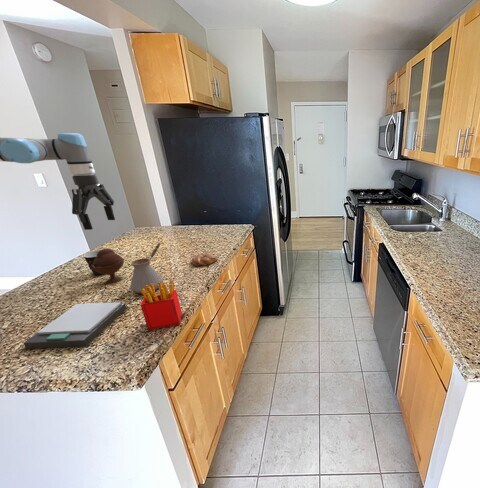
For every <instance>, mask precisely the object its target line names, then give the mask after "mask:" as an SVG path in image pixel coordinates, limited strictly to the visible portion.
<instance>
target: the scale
mask: <svg viewBox="0 0 480 488" xmlns="http://www.w3.org/2000/svg"><path fill="white" fill-rule="evenodd" d="M126 310H127V305H126V303H124V302H122V303H121V301H118V302H114V301H113V302H91V303H76V304H74V305H73V306H72V307H71V308H69V309H67V310H66V311H65V312H64V313H62V314H61V315H59V316H58V317H56V318H55V319H53V321H51V322H49V323H48V324H47V325H46V326H44V327H43V328H41V329H40V330H39V331H37V332H36V333H34V335H32V336H31V337H30V338H28V339H26V340H25V341H23V342H22V344H23V346H24V347H25V349H26V350H33V349H36V350H37V349H38V350H39V349H55V348H57V349H58V348H77V347H88V345H90V344H91V343H92V342H93V341H94V340H95V339H96V338H97V337H98V336H100V334H102V332H103V331H104V330H105V329H107V328H108V327H109V326H110V325H111V324H112V323H113V322H114V321H115V320H116V319H117V318H118V317H120V316H121V314H123V313H124V312H125V311H126Z"/></svg>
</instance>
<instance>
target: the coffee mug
mask: <svg viewBox="0 0 480 488" xmlns="http://www.w3.org/2000/svg"><path fill="white" fill-rule="evenodd" d="M100 250H101V249H97V250H92V251H88V252H86V253H85V254H84V255H83V258H84V259H85V262H86V264H87V266H88V268H89V270H91V272H92V274H93V275H94V277H95V276H96V277H100V276H105V275H106V274H101V273H98V272H96V271H95V270H94V269H93V268H92V266H91V265H92V264H93V262H94V260H95V259H96V258H97V253H98V252H99V251H100Z"/></svg>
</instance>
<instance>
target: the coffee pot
mask: <svg viewBox="0 0 480 488" xmlns="http://www.w3.org/2000/svg"><path fill="white" fill-rule="evenodd" d="M161 246H164V244H163V243H160V242H158V243H157V244H156V245H155V248H154V249H153V251H152V252H151V254H150V257H149V258H148V257H147V258H146V257H145V258H144V257H143V258H138V259H135V260H133V261H131V263H130V265H131V266H133V271H132V272H133V273H132V277H131V282H130V285H129V288H130V291H132V292H133V293H137V294H141V295H143V293H142V292H141V289H145V291H146V288H145V286H146V285H148V286H149V287H151V286H150V284H154V288H155V291H157V290H159V288H158V282H161V284H164V278H163V277H162V276H161V274H160V273H158V272H157V271H156V269H154V267H153V266H152V265H151V261H152V259H153V258H154V256H155V255H156V253H157V251H158V249H159V248H160V247H161Z"/></svg>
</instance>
